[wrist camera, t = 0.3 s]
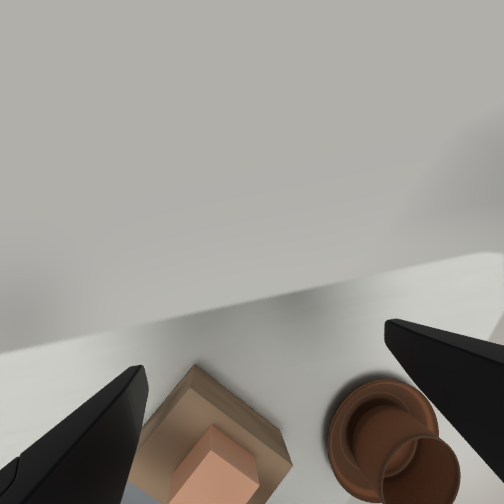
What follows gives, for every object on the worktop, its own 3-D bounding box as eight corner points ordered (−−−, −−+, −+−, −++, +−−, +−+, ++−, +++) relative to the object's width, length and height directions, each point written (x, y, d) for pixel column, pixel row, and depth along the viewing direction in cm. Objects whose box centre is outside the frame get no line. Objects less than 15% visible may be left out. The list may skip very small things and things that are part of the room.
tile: (217, 504, 19) (218, 541, 17) (173, 473, 19) (166, 506, 16) (253, 456, 20) (259, 485, 17) (211, 424, 19) (210, 450, 17)
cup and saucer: (440, 402, 27) (506, 445, 21) (390, 502, 26) (444, 578, 20) (355, 351, 26) (399, 382, 19) (299, 456, 25) (327, 523, 18)
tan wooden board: (227, 500, 23) (230, 550, 19) (136, 434, 22) (118, 474, 18) (280, 430, 24) (292, 465, 20) (194, 364, 23) (190, 387, 19)
